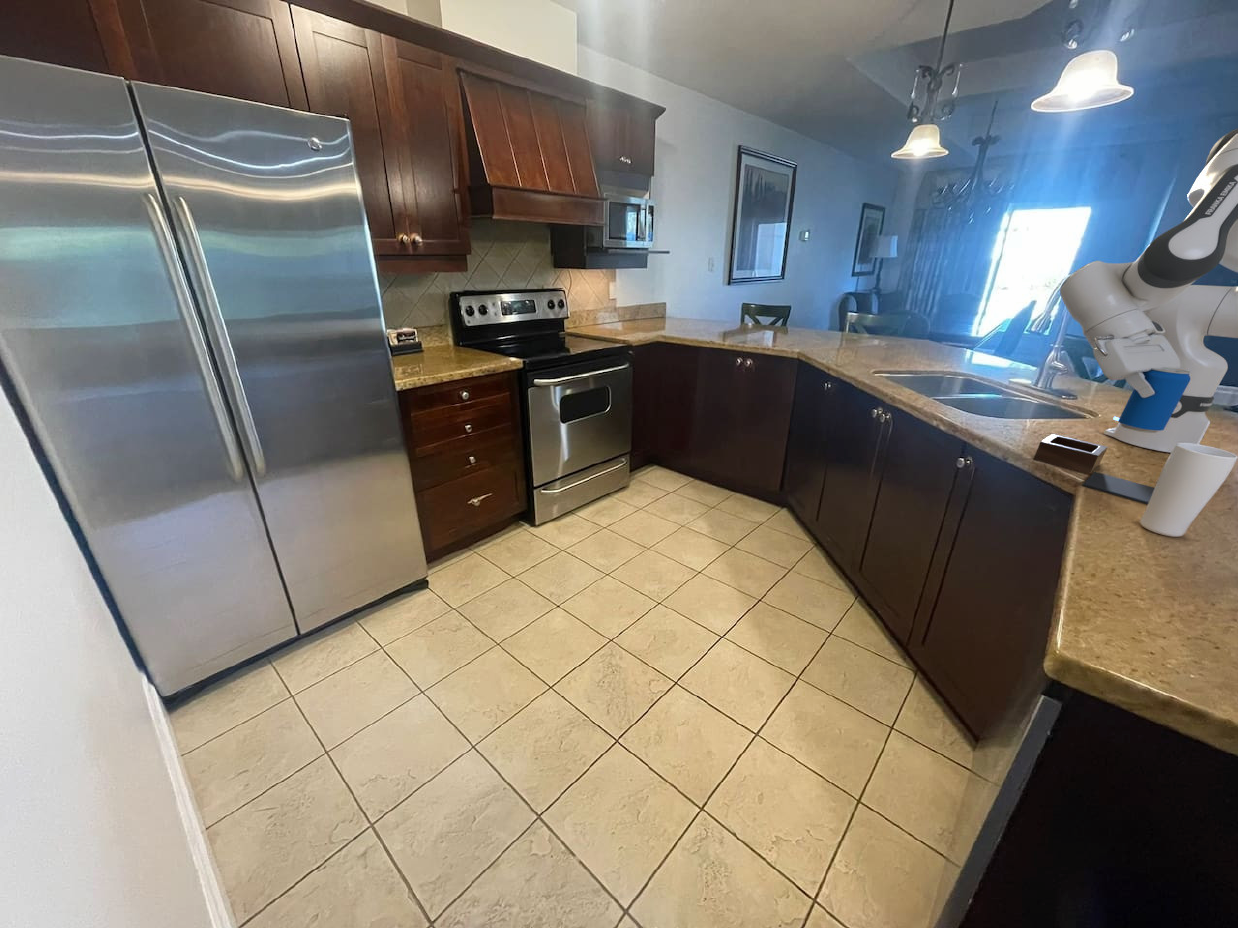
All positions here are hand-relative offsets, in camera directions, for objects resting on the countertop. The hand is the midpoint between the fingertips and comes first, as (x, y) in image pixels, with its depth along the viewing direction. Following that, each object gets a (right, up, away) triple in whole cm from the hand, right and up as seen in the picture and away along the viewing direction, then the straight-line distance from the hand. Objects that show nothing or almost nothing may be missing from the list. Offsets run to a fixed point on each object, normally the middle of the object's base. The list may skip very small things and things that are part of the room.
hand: (1161, 394), depth 91 cm
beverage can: (-1, -7, +3) cm, 7 cm away
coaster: (-1, -19, +6) cm, 20 cm away
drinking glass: (-11, -25, -9) cm, 29 cm away
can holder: (-1, -13, +19) cm, 23 cm away
